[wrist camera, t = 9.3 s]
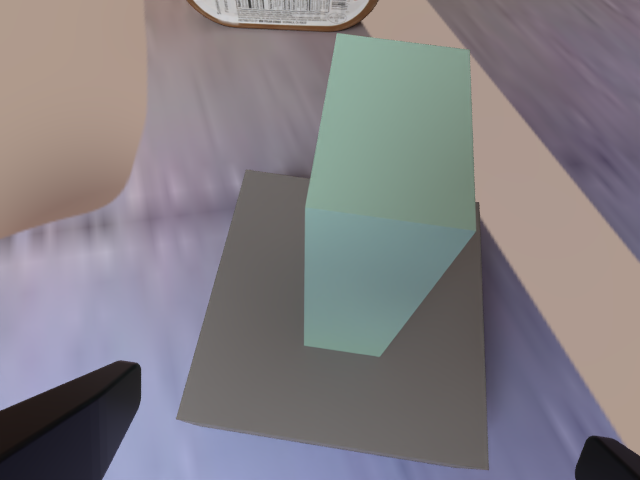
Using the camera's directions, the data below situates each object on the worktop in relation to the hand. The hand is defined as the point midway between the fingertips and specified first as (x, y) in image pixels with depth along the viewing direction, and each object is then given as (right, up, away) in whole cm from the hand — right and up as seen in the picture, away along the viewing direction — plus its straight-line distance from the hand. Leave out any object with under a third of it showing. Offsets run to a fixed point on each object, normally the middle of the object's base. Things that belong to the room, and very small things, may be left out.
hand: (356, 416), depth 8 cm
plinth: (0, -1, +14) cm, 14 cm away
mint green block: (+1, +1, +10) cm, 10 cm away
